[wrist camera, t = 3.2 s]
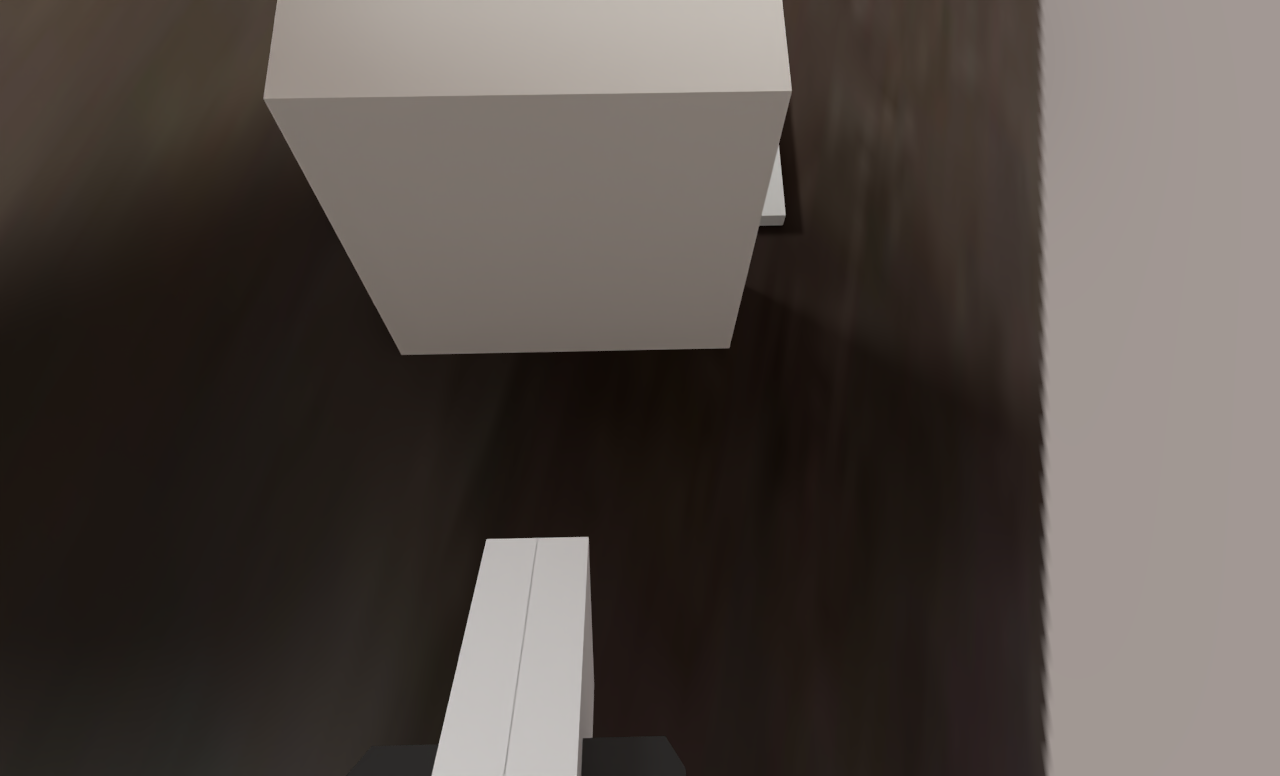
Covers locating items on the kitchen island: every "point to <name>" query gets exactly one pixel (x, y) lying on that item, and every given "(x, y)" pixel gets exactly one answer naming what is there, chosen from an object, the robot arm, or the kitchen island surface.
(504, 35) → the tile
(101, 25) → the kitchen island surface
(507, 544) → the robot arm
